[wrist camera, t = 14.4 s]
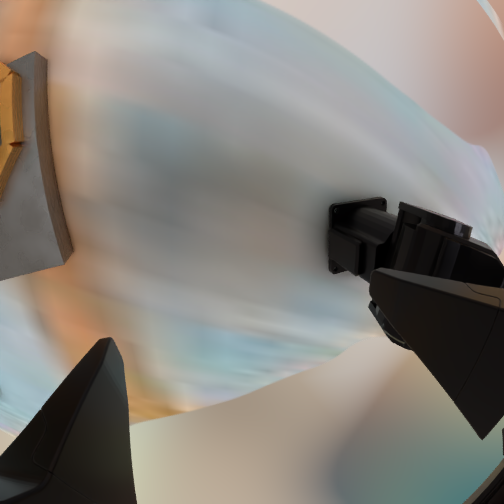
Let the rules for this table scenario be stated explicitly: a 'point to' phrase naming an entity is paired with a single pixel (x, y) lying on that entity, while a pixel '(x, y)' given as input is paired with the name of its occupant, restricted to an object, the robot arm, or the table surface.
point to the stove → (28, 174)
